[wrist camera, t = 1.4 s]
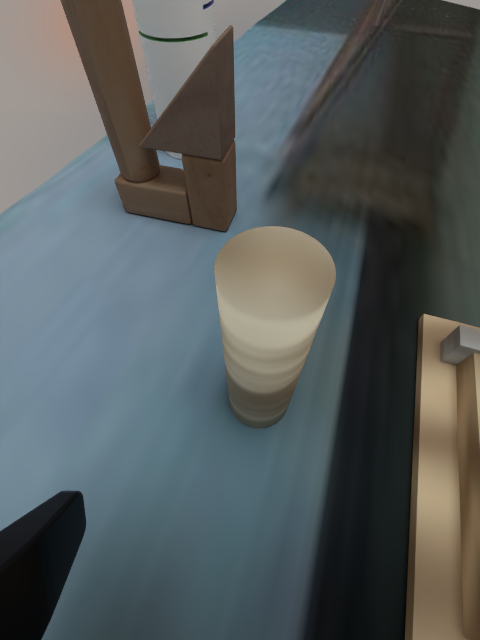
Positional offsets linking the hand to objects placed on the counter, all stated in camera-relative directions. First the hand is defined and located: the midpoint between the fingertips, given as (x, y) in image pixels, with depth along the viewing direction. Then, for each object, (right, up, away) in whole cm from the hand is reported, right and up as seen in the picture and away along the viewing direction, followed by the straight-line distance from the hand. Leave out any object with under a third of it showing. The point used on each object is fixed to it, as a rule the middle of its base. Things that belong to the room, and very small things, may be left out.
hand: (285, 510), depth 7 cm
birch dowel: (0, -1, +15) cm, 15 cm away
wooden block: (-7, +15, +25) cm, 30 cm away
